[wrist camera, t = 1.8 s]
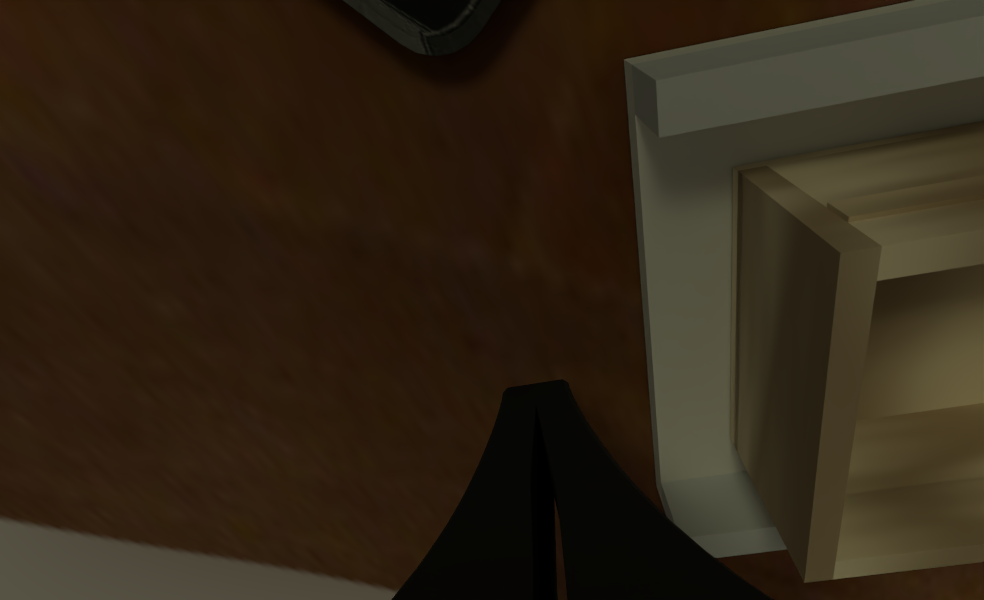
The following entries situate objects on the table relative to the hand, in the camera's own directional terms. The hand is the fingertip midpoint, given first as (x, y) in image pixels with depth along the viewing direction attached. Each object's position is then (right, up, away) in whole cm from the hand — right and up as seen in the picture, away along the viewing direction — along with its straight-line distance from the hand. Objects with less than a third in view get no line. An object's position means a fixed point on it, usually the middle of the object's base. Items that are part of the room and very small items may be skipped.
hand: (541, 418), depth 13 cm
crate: (+8, +3, +2) cm, 9 cm away
